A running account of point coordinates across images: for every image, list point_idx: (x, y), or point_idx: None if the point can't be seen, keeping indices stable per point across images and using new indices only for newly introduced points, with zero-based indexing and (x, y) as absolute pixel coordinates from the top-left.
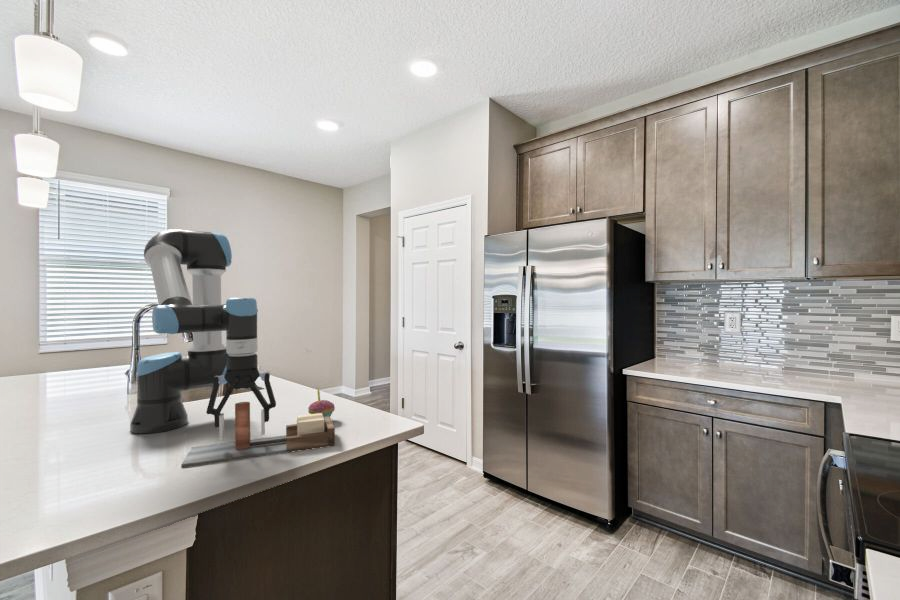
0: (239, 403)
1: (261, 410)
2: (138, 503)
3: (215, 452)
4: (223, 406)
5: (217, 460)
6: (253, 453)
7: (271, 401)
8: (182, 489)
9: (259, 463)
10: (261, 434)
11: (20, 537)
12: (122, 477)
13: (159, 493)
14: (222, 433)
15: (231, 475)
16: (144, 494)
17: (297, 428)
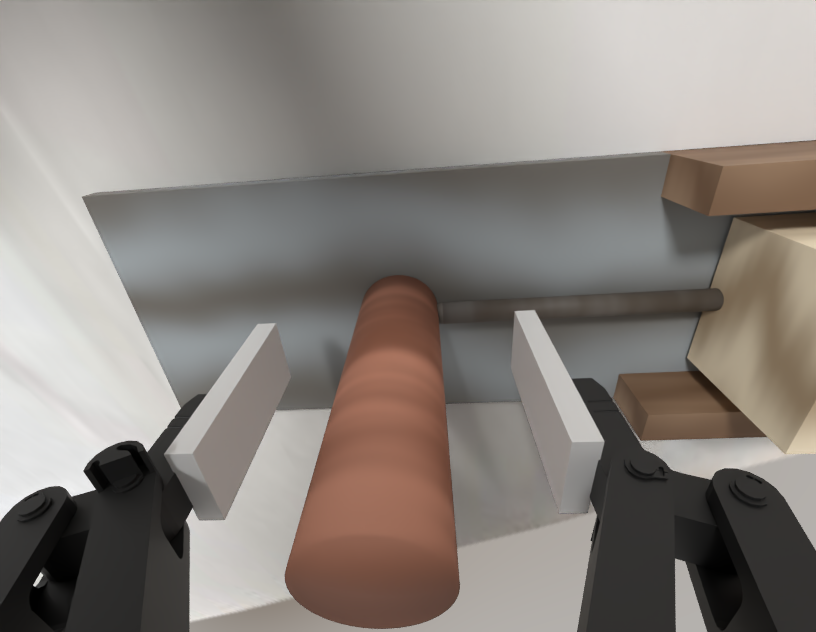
0: (333, 580)
1: (565, 482)
2: (213, 561)
3: None
4: (188, 616)
5: (317, 405)
6: (462, 393)
7: (723, 615)
8: (287, 534)
9: (489, 450)
10: (512, 371)
11: None
12: (17, 419)
13: (234, 536)
14: (277, 404)
15: None
16: (195, 531)
17: (766, 310)
